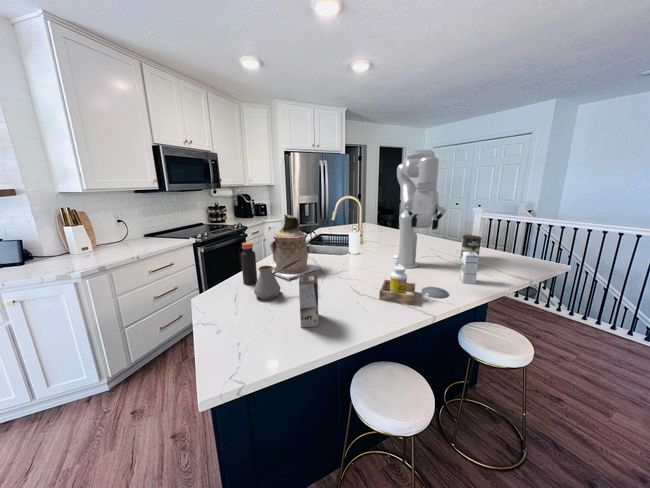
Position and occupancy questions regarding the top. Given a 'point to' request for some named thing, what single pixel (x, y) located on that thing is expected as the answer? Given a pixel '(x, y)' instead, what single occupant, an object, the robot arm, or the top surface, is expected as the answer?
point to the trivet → (435, 292)
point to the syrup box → (469, 267)
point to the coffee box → (308, 300)
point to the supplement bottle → (398, 280)
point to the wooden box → (397, 294)
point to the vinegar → (248, 264)
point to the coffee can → (470, 244)
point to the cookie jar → (290, 250)
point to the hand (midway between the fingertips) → (423, 227)
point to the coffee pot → (268, 282)
